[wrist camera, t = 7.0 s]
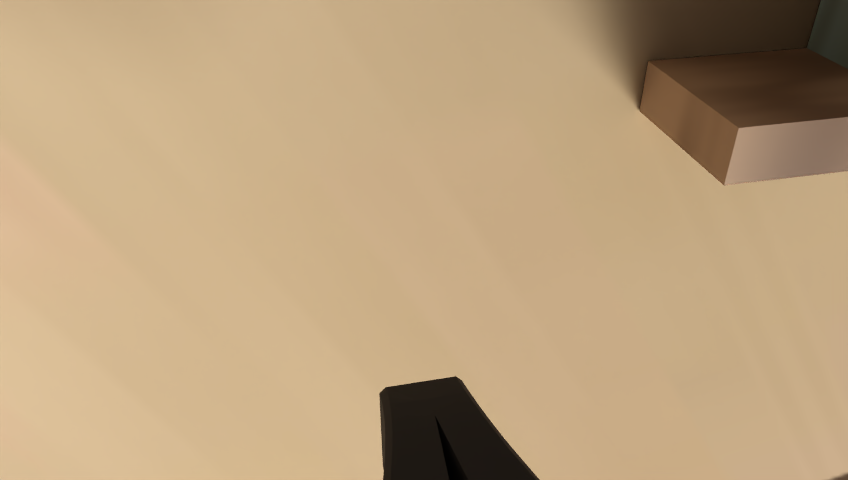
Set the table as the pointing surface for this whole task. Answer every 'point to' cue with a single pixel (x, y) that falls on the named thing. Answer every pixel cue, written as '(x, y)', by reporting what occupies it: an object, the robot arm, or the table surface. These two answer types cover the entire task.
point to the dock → (759, 106)
